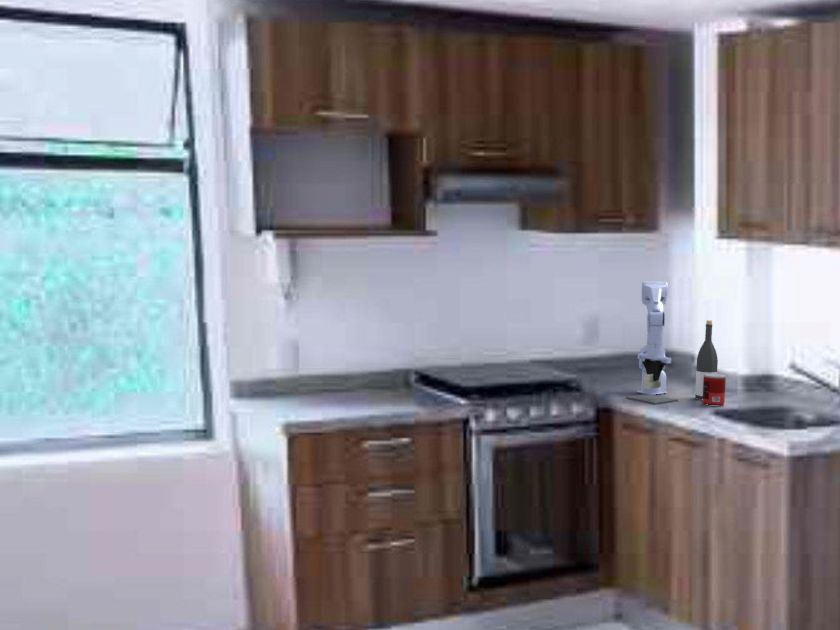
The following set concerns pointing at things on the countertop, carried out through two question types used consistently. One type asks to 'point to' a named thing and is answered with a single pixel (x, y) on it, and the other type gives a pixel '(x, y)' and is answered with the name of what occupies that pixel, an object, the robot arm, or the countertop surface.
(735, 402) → the countertop surface
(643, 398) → the rubber mat
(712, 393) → the canned food
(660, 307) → the robot arm
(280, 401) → the countertop surface
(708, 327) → the wine bottle
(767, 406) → the countertop surface
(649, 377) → the pale green block
